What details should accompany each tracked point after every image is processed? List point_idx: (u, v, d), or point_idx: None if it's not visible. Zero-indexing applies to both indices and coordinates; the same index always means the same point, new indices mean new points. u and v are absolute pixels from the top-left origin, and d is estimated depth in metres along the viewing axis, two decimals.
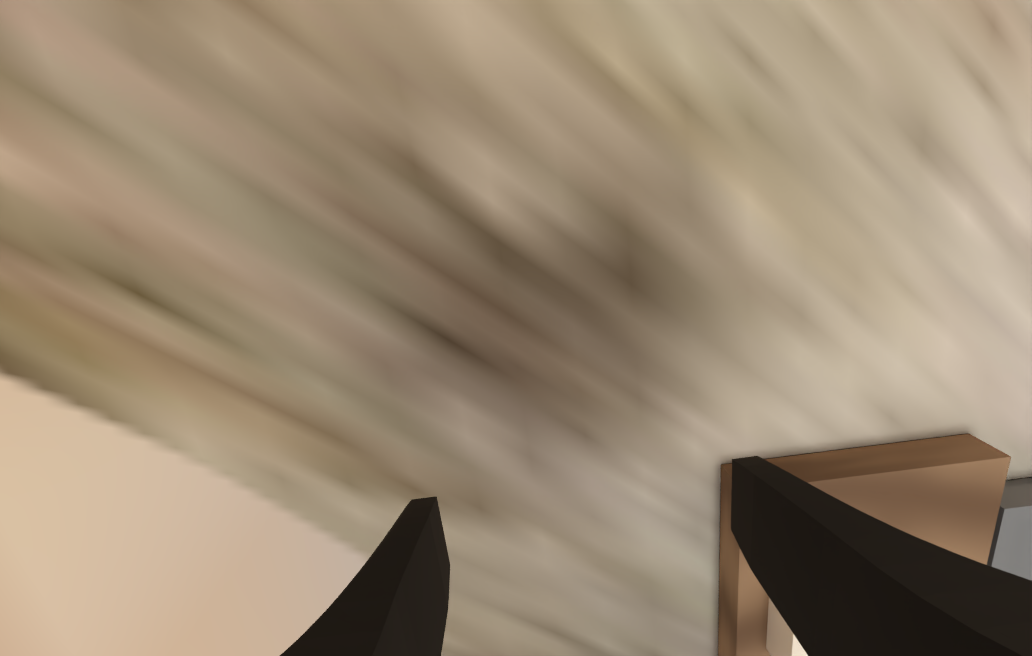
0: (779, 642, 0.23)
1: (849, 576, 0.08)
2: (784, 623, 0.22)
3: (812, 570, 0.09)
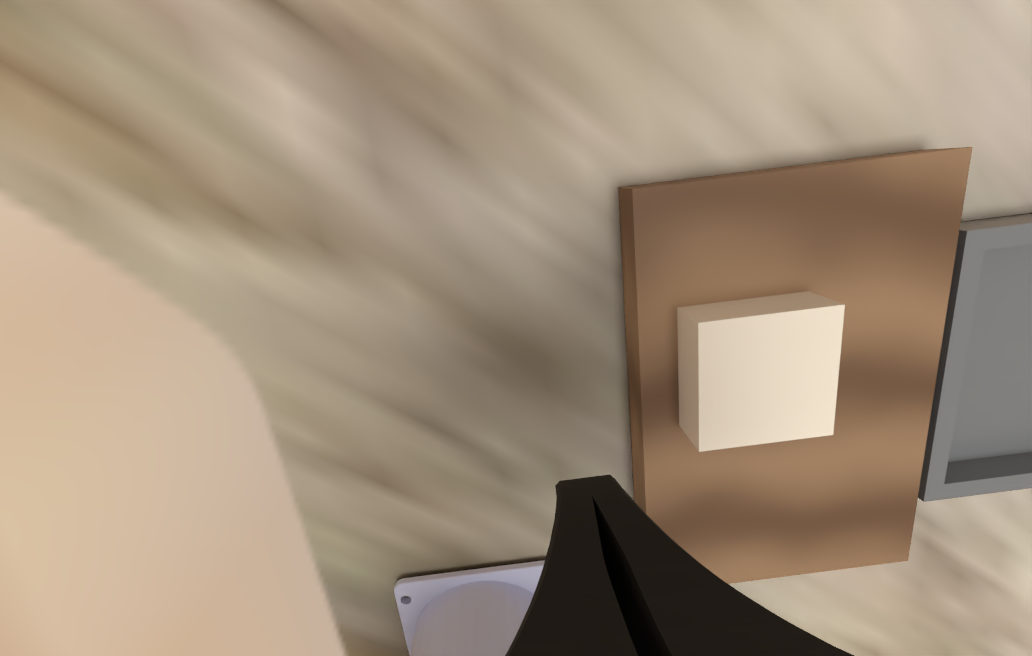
0: (688, 400, 0.18)
1: (636, 603, 0.08)
2: (691, 367, 0.18)
3: (622, 594, 0.09)
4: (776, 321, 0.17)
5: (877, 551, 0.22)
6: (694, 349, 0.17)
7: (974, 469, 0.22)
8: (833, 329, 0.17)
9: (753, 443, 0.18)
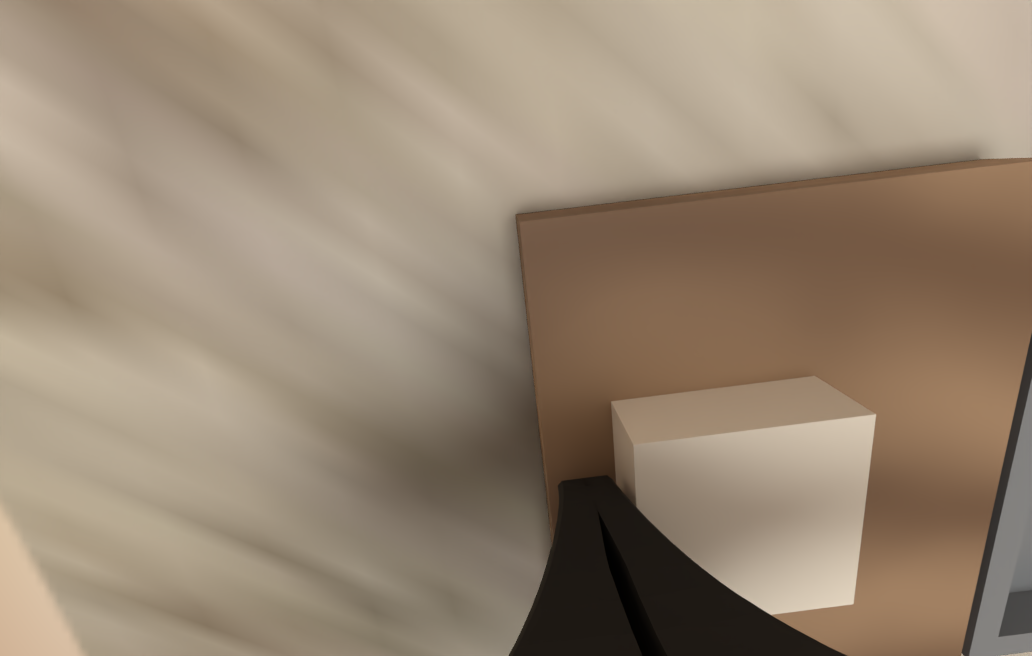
0: None
1: (632, 604, 0.08)
2: None
3: (619, 594, 0.09)
4: (763, 441, 0.10)
5: None
6: (631, 480, 0.11)
7: None
8: (856, 452, 0.10)
9: None
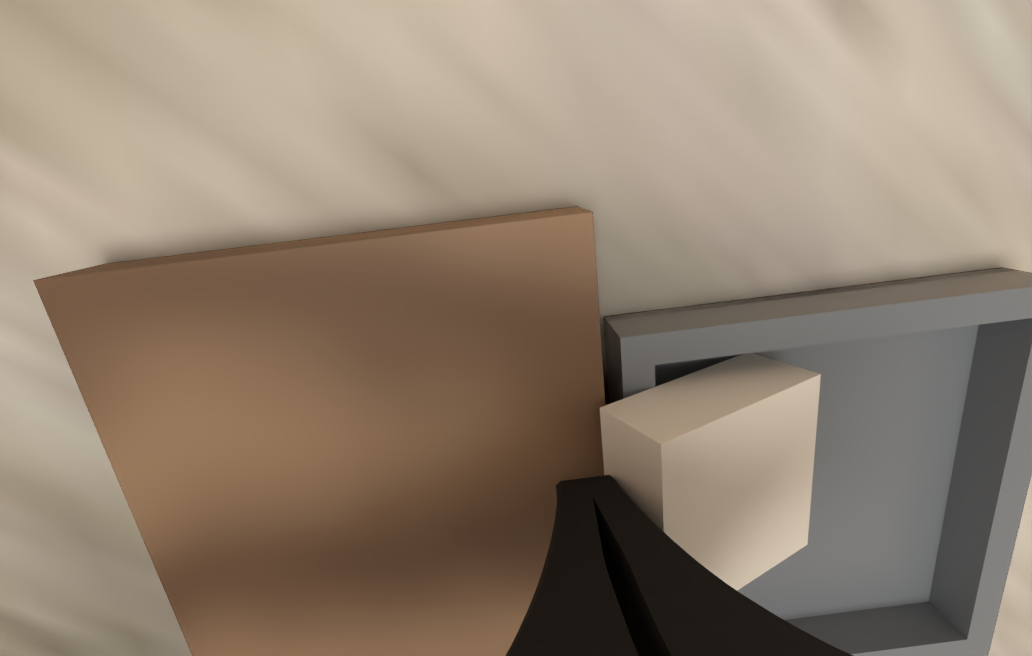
0: None
1: (636, 603, 0.08)
2: (641, 506, 0.11)
3: (622, 593, 0.09)
4: (753, 415, 0.11)
5: None
6: (651, 482, 0.10)
7: None
8: (810, 410, 0.12)
9: None
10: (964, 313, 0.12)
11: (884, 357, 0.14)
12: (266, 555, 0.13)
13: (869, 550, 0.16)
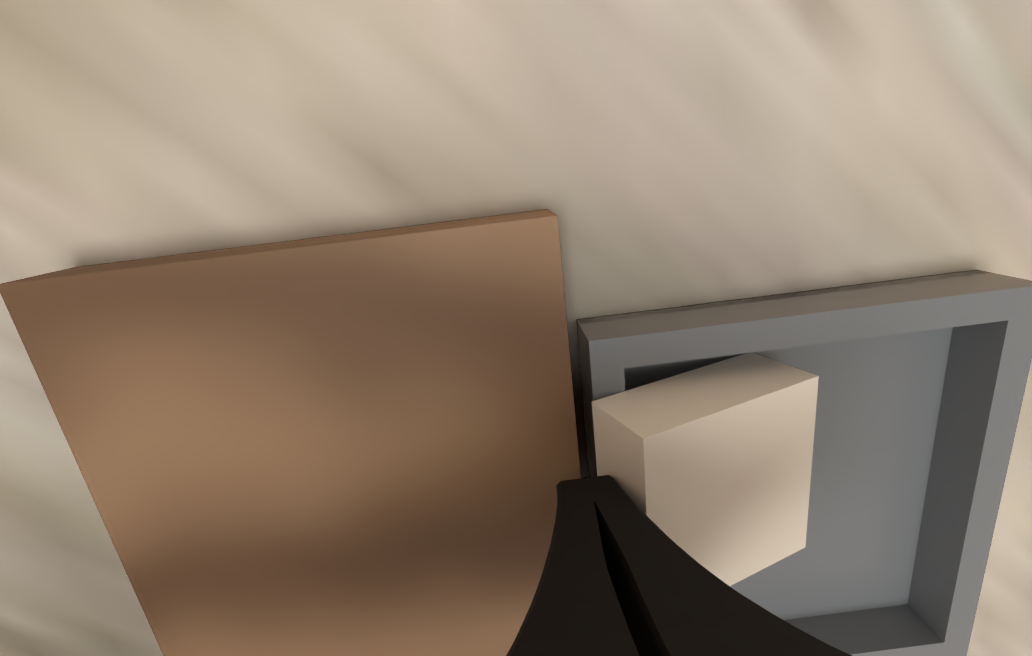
0: None
1: (635, 603, 0.08)
2: None
3: (621, 593, 0.09)
4: (743, 414, 0.11)
5: None
6: (635, 475, 0.10)
7: None
8: (806, 411, 0.12)
9: None
10: (934, 316, 0.12)
11: (858, 359, 0.14)
12: (237, 559, 0.13)
13: (846, 553, 0.16)
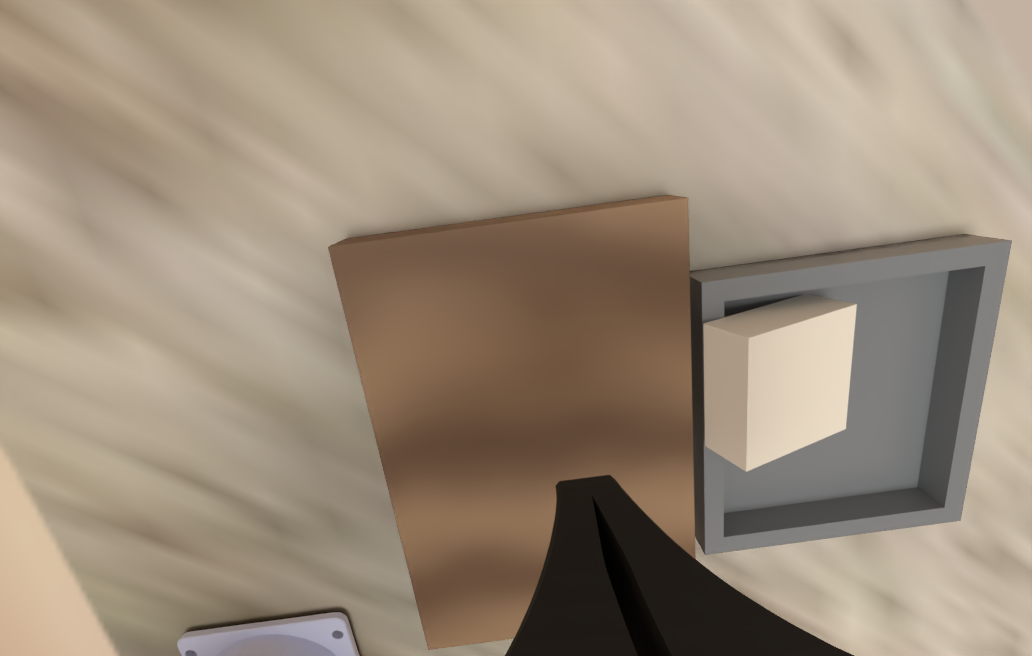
0: (725, 419, 0.17)
1: (636, 603, 0.08)
2: (731, 384, 0.17)
3: (623, 594, 0.09)
4: (809, 327, 0.17)
5: None
6: (740, 366, 0.16)
7: (762, 519, 0.21)
8: (848, 328, 0.17)
9: (787, 451, 0.18)
10: (935, 263, 0.17)
11: (881, 299, 0.19)
12: (453, 439, 0.19)
13: (872, 446, 0.21)
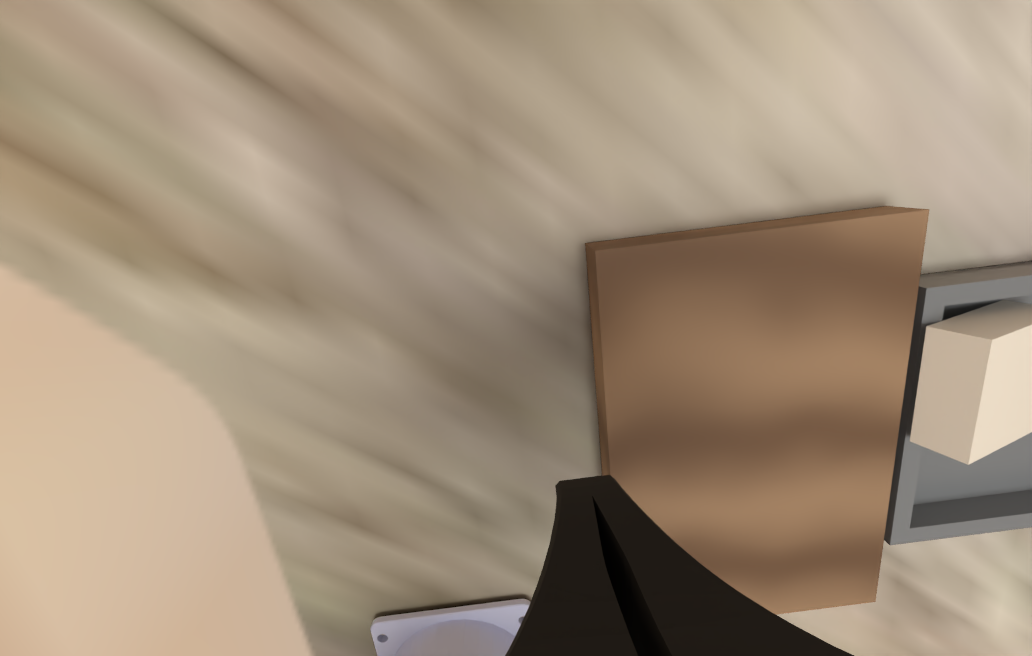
0: (945, 416, 0.19)
1: (636, 603, 0.08)
2: (959, 383, 0.18)
3: (623, 594, 0.09)
4: None
5: (845, 593, 0.23)
6: (975, 365, 0.17)
7: (940, 512, 0.23)
8: None
9: (997, 447, 0.19)
10: None
11: None
12: (679, 432, 0.20)
13: None
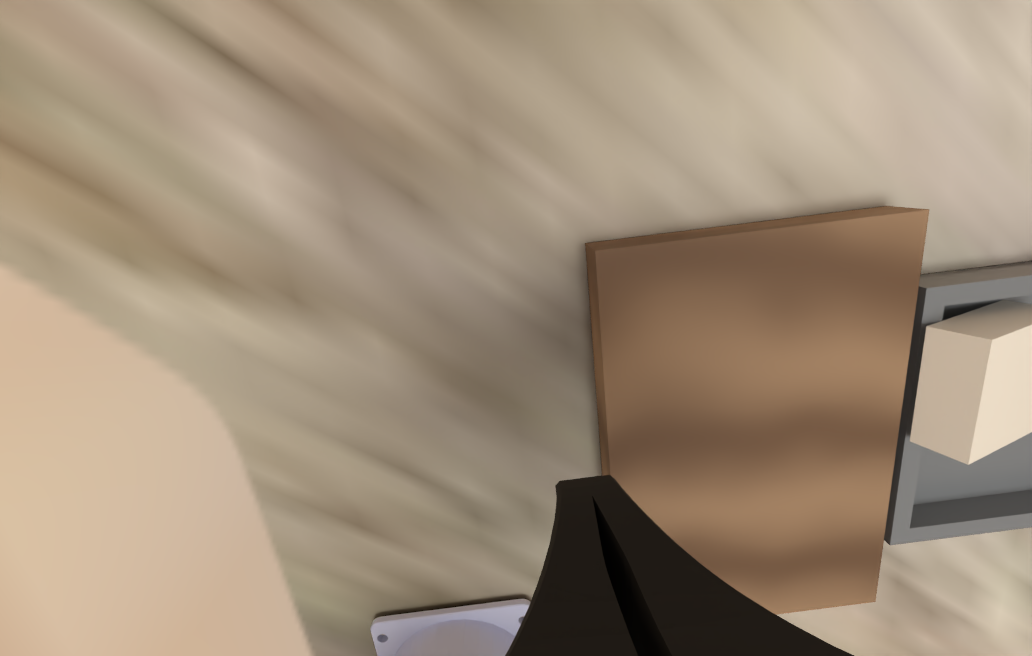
0: (945, 416, 0.19)
1: (636, 603, 0.08)
2: (959, 383, 0.18)
3: (623, 594, 0.09)
4: None
5: (845, 593, 0.23)
6: (975, 365, 0.17)
7: (940, 512, 0.23)
8: None
9: (997, 447, 0.19)
10: None
11: None
12: (679, 432, 0.20)
13: None
